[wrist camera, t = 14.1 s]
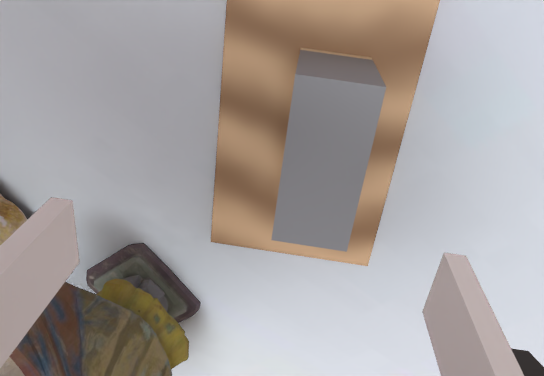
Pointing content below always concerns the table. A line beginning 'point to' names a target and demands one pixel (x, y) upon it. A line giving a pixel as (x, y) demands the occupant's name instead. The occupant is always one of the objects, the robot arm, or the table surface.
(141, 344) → the statue
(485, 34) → the table surface
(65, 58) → the table surface
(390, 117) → the oak board
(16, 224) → the stone
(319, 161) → the block
